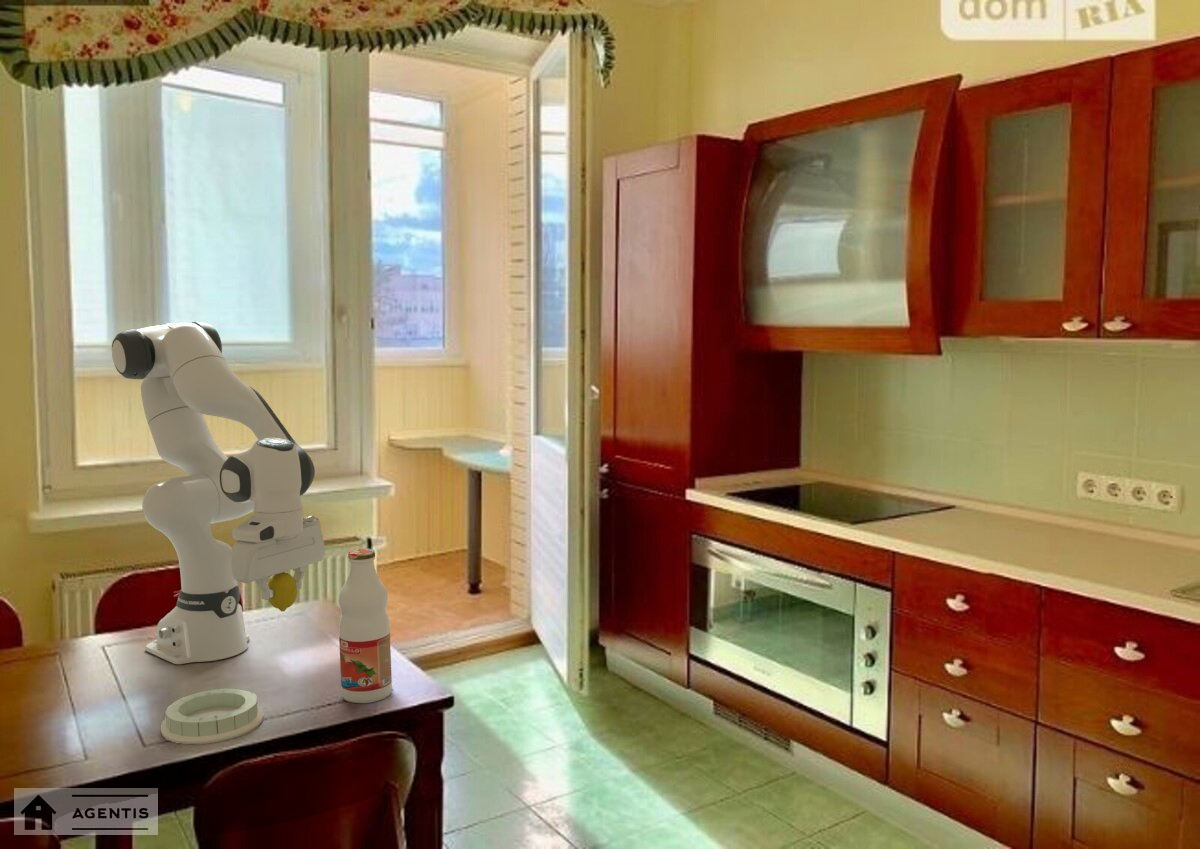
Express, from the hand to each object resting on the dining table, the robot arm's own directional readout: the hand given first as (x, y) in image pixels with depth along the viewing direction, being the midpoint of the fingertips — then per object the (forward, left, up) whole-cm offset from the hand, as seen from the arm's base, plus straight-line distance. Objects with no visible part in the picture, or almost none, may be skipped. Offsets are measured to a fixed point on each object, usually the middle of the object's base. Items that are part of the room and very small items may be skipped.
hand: (282, 594), depth 187 cm
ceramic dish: (+1, -18, -19) cm, 26 cm away
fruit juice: (+16, +5, -19) cm, 26 cm away
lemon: (0, 0, -4) cm, 4 cm away
